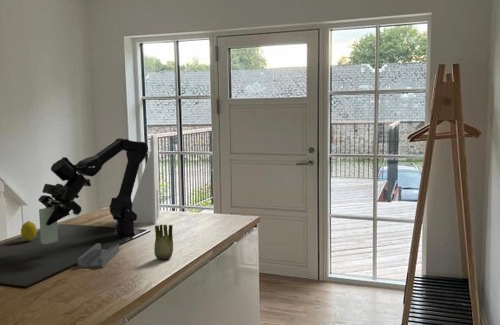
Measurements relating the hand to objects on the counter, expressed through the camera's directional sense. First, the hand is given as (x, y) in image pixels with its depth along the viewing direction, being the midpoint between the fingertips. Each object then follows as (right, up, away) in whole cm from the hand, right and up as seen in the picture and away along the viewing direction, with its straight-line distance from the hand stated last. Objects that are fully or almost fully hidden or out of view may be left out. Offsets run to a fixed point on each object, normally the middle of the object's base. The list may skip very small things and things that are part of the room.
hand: (44, 224), depth 161 cm
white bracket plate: (+21, -6, +57) cm, 61 cm away
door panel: (+1, -6, +2) cm, 7 cm away
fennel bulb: (+42, -12, -3) cm, 44 cm away
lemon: (-15, -9, +21) cm, 27 cm away
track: (+20, -11, -3) cm, 23 cm away
